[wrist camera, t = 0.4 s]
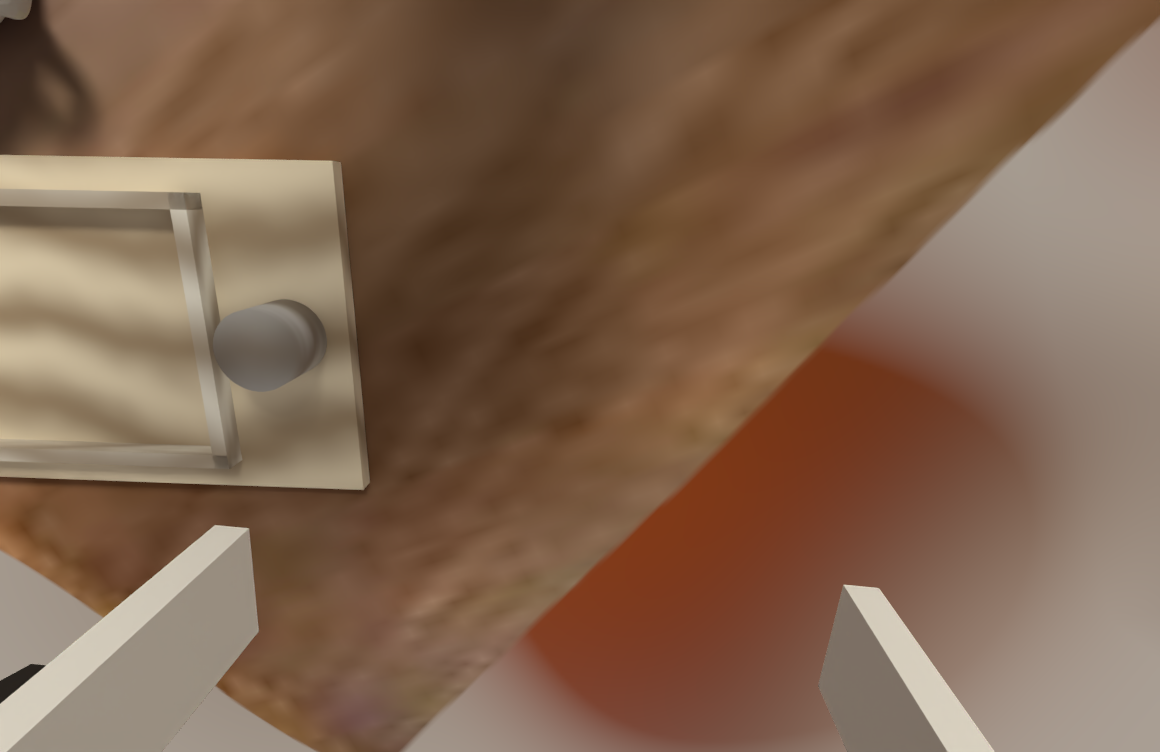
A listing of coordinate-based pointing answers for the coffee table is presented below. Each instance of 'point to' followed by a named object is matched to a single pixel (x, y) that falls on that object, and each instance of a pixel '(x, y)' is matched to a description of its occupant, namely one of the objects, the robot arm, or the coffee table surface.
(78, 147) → the coffee table surface
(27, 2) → the teacup
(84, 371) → the carrier board
